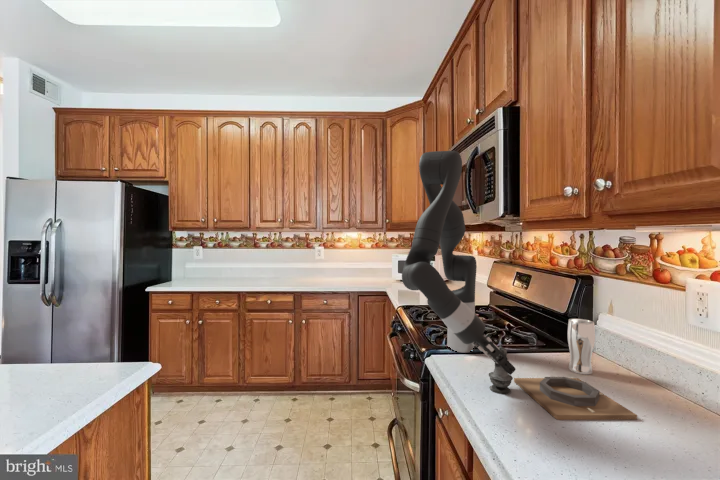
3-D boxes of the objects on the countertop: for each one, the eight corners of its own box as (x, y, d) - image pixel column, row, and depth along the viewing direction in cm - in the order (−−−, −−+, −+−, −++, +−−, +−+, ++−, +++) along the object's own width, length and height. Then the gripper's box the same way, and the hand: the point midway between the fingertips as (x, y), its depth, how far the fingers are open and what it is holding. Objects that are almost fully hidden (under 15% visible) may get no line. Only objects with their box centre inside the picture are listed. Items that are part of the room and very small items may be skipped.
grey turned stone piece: (486, 391, 90) (487, 345, 90) (489, 383, 96) (490, 339, 95) (511, 396, 88) (512, 348, 87) (513, 387, 93) (514, 342, 93)
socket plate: (514, 381, 97) (514, 370, 97) (577, 381, 97) (578, 371, 97) (556, 419, 77) (557, 406, 77) (637, 419, 77) (637, 406, 77)
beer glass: (583, 376, 101) (585, 324, 101) (561, 368, 107) (562, 319, 107) (599, 373, 104) (600, 322, 103) (576, 365, 110) (577, 317, 110)
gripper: (482, 317, 84) (529, 365, 84) (463, 305, 98) (503, 346, 99) (460, 339, 84) (507, 387, 84) (444, 324, 98) (484, 365, 99)
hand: (505, 365), depth 92 cm, fingers open, 8 cm apart
